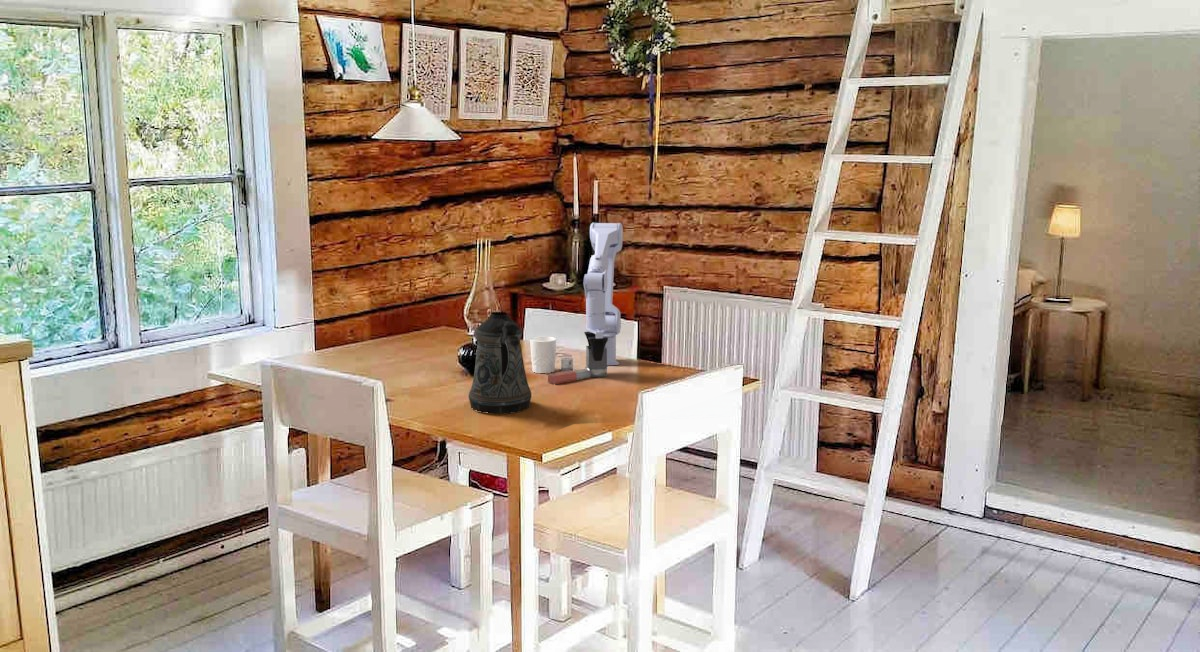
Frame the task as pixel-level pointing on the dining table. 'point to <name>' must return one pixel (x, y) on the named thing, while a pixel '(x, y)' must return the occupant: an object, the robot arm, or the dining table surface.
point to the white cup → (543, 354)
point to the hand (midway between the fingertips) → (596, 357)
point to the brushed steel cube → (595, 364)
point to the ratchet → (575, 375)
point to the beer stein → (499, 367)
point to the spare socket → (566, 364)
